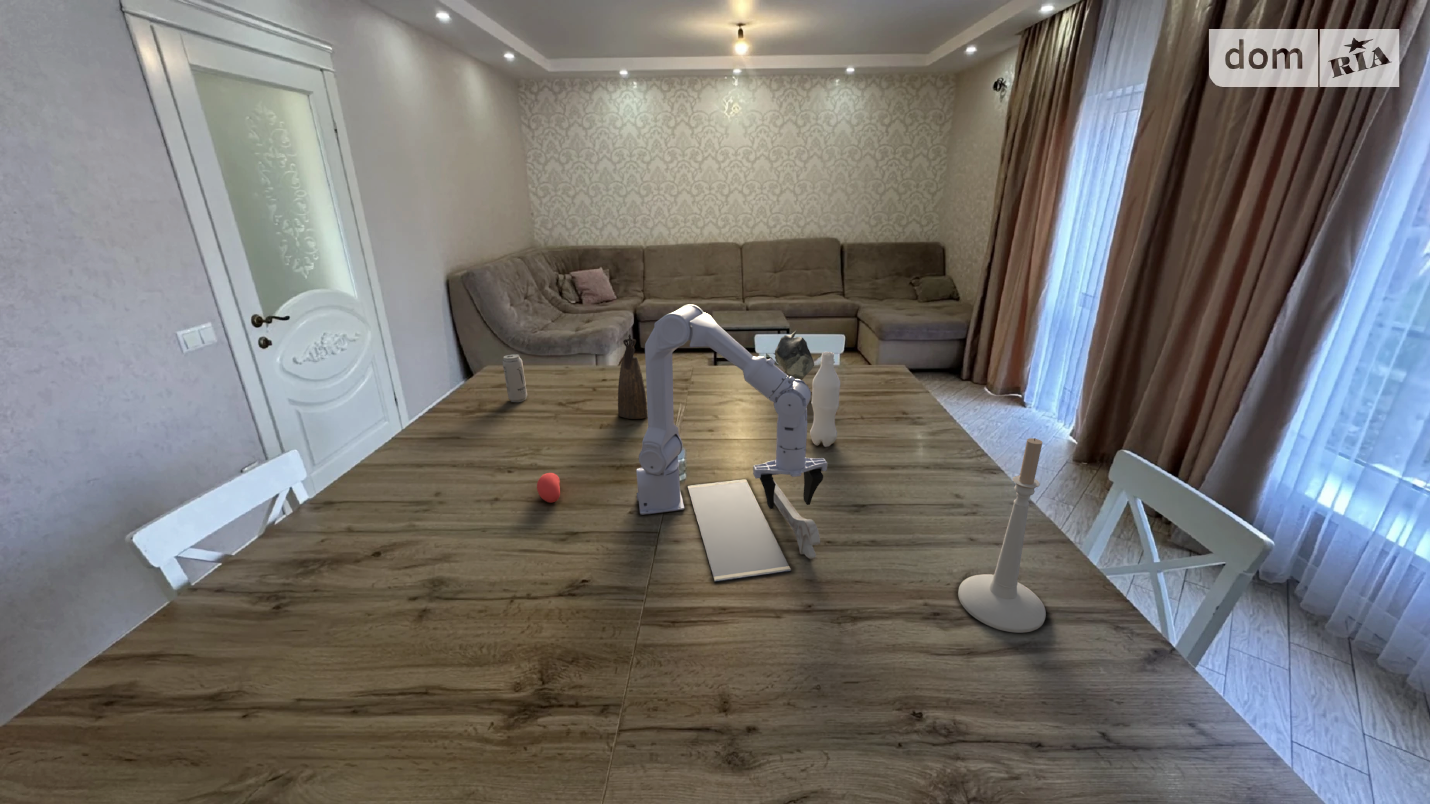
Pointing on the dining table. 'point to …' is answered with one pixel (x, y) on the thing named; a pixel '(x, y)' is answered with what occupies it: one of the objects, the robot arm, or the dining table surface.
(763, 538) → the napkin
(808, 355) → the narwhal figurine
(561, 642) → the dining table surface
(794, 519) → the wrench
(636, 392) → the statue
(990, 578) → the candlestick
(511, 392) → the energy drink can
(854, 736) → the dining table surface
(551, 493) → the stress ball
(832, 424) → the water bottle
